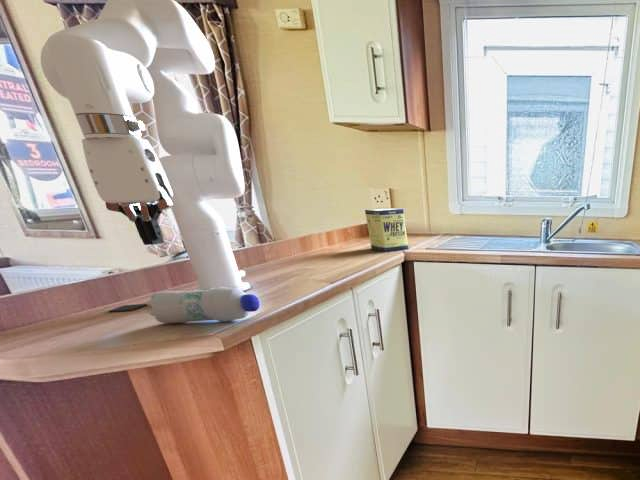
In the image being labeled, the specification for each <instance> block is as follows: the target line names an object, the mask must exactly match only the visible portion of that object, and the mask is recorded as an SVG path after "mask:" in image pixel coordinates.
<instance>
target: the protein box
mask: <svg viewBox="0 0 640 480" xmlns="http://www.w3.org/2000/svg"><path fill="white" fill-rule="evenodd" d="M364 213H365V217H366V218H365V219H366V224H367V230H368V236H369V242H370V248H371V249H373V250H376V251H377V250H378V251H381V252H394V251H401V250H408V249H409V243H408V235H407V229H406V219H405V213H404V208H373V209H372V208H371V209H364Z"/></svg>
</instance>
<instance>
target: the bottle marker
mask: <svg viewBox="0 0 640 480" xmlns="http://www.w3.org/2000/svg"><path fill="white" fill-rule="evenodd" d="M147 306H148V304H147V303H141V304H124V305H121V306H118V307H116V308H113V309H110V310H108V313H118V312H119V313H120V312H132V311H136V310H138V309H141V308H144V307H147Z"/></svg>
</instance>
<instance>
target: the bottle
mask: <svg viewBox="0 0 640 480" xmlns="http://www.w3.org/2000/svg"><path fill="white" fill-rule="evenodd" d="M146 304H147V306H150V307H151V309H150V310H149V311H148V314H149V315H151V316H153V317H154V319H155V320H156V321H157V322H159V323H163V324H180V323H189V322H203V321H204V322H206V321H217V322H232V321H237V320H241V319H245V318H246V317H247V316H248V315H249V314H250V313H252V312H257V311H258V310H259V308H260V305H261V304H260V300H259V298H258V297H257V296H256V295H255V294H251V293H248V294H246V292H245V291H242V290H241V289H238V288H227V287H219V288H212V289H210V290H197V291H194V290H183V291H182V290H163V291H157V292H155V293H153V294H152V295H151V296H150V299H148V300H147V303H146Z"/></svg>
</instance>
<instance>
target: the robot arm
mask: <svg viewBox="0 0 640 480" xmlns="http://www.w3.org/2000/svg"><path fill="white" fill-rule="evenodd" d="M40 66H41V69H42V72H43V75H44V77H45V79H46V81H47V82H48V84H49V85H50V86H51V87H52V89H53V90H54V91H56V93H58V94H59V95H60V96H62V97H63V98H65V99H67V100H68V101H69V103H70V106H71V108H72V111H73V113H74V115H75V118H76V120H77V124H78V125H79V126H78V127H79V128H80V131H81V133H82V135H83V137H84V138H82V139H81V144H82V149H83V155H84V158H85V162H86V165H87V169H88V171H89V175H90V177H91V180H92V182H93V185H94V188H95V190H96V192H97V195H98V196H99V198H100V199H101V200H102V201H103V202H104V203H105V207H106V209H107V211H111V212H116V213H121V214H122V215H124V216H126V218H128V220H129V221H130V222H132V223H133V224H134V225H135V228H136V230H137V233H138V235H139V238H140V239H141V240H142V244H143V245H144V246H150V245H160V244H164V243H165V239H164V235H163V232H162V229H161V227H160V224H159V220H160V219H161V217H160V216H161V214H162V213H163V211H167V210H169V209H171V212H172V214H173V215H172V216H173V217H174V220H175V222H176V225H177V228H178V231H179V233H180V236H181V237H180V238H181V239H182V242H183V245H184V248H185V251H186V253H187V256H188V259H189V261H190V265H191V268H192V270H193V273H194V275H195V278H196V281H197V284H198V287H197V288H195V289H193V291H197V290H210V289H212V288H219V287H227V288H238V289H241V290H242V291H243V292H245V291H247V290H250V289H251V285H250V283H249V282H247V281H246V282H245V281H242V278H245V277H246V271H244V270H242V269H240V270H239V267H238V265H237V261H236V258H235V255H234V252H233V249H232V245H231V242H230V239H229V236H228V233H227V232H228V231H227V229H226V225H225V222H224V220H223V218H222V217H221V215H220V214H219V213H218V212H217V211H216V210H215V209H214V208H212V207H211V206H210V205H209V204H208V203H207V202H206V201H209V200H225V199H226V200H227V199H237V198H240V197H242V196H243V195H244V193H245V189H246V188H245V187H246V184H245V177H244V171H243V165H242V157H241V152H240V147H239V142H238V137H237V134H236V131H235V129H234V127H233V126H232V124H231V122H230V121H229V120H228V119H227V117H225V116H223V115H221V114H218V113H212V112H199V111H198V103H197V101H196V99H195V97H194V96H192V94H191V93H190V92H189V91H188V90H187V89H186V88H185V87H184V86H182V84H180V83H179V82H178V81H176V80H175V79H173V78H172V77H170V76H169V74H177V75H209V74H211V73H213V72H214V71H215V67H216V61H215V56H214V53H213V50H212V46H211V45H210V43H209V41H208V39H207V38H206V36H205V35H204V34H203V32H202V30H201V29H200V27H199V26H198V25H197V22H195V20H194V19H193V17H192V16H191V15H190V14H189V12H188V11H187V10H186V8H184V7H183V6H182V5H181V4H180V3H178V2H177V1H175V0H107V1H106V3H105V4H104V5H103V7H102V9H101V11H100V13H99V15H98V17H97V18H95V19H92V20H88V21H86V22H85V21H84V22H82V23H80V24H77V25H74V26H70V27H67V28H64V29H61V30H58V31H56V32H54V33H52V34H51V35H50V36H48V37H47V39H46V42H45V43H44V45H43V46H42V48H41V52H40ZM151 100H152V102H153V103H152V104H153V110H154V118H155V125H156V126H155V127H156V133H157V136H158V141H159V144H160V145H161V147H162V149H163V150H164V151H165V152H166V153H167V154H168V155H165V156H160V158H159V157H158V155H157V154H156V152H155V150H154V148H153V146H152V145H151V143H150V141H149V140H148V139H147V138H143V137H142V133H141V131H145V130H146V127H145V124H144V123H143V121H141V120H136V117H135V115H134V113H133V111H132V108H131V104H144V103H148V102H149V101H151Z"/></svg>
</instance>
